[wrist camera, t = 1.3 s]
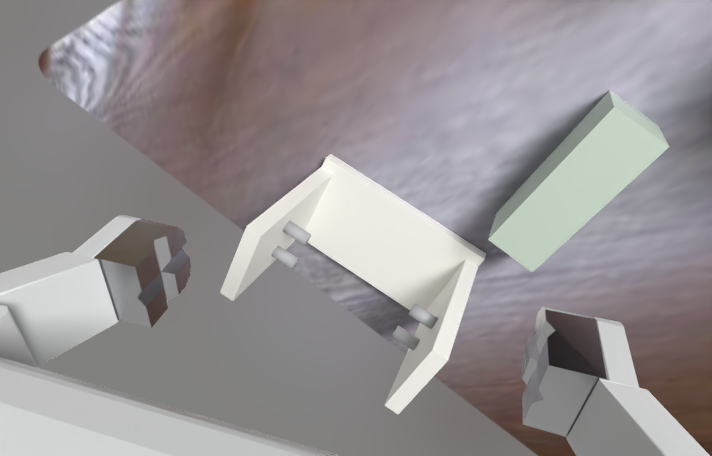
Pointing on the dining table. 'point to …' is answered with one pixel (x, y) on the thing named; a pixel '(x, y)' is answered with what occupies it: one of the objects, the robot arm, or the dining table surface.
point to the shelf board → (577, 180)
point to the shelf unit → (371, 259)
